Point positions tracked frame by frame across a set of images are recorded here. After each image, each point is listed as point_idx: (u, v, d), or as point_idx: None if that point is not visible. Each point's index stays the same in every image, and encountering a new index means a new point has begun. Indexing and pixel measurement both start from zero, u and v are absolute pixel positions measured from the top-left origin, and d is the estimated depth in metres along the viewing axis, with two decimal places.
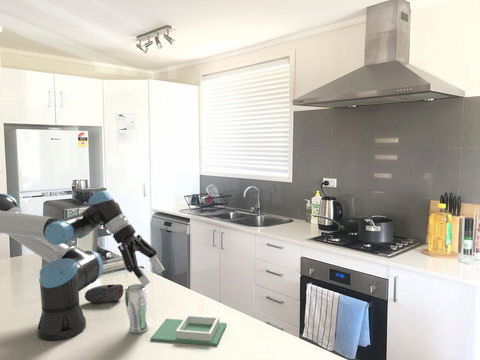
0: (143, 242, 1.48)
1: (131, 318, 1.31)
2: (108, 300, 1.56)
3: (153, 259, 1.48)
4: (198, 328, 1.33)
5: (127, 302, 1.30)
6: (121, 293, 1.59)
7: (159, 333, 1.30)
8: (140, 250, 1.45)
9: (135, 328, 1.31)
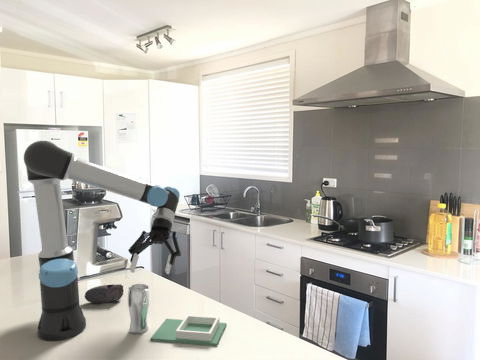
0: (143, 241, 1.53)
1: (132, 317, 1.31)
2: (108, 300, 1.56)
3: (137, 257, 1.48)
4: (198, 328, 1.33)
5: (130, 301, 1.30)
6: (121, 293, 1.59)
7: (159, 333, 1.30)
8: (147, 243, 1.50)
9: (135, 328, 1.31)
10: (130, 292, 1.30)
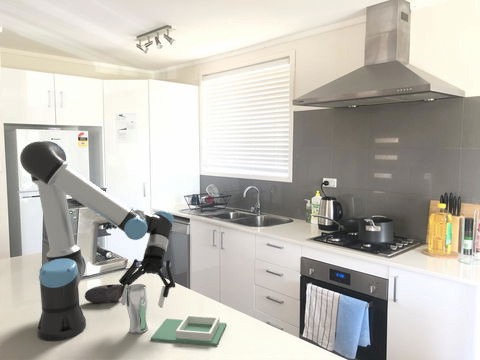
0: (135, 270, 1.44)
1: (131, 318, 1.31)
2: (108, 300, 1.56)
3: None
4: (198, 328, 1.33)
5: (128, 301, 1.30)
6: None
7: (159, 333, 1.30)
8: (139, 273, 1.41)
9: (135, 328, 1.32)
10: (127, 292, 1.30)
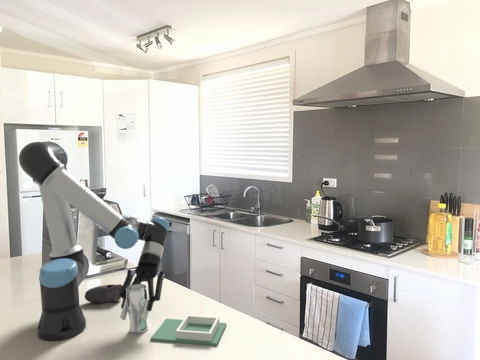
0: (131, 281, 1.41)
1: (131, 318, 1.31)
2: (108, 300, 1.56)
3: None
4: (198, 328, 1.33)
5: (128, 301, 1.30)
6: None
7: (159, 333, 1.30)
8: (136, 283, 1.38)
9: (135, 328, 1.32)
10: (127, 292, 1.30)
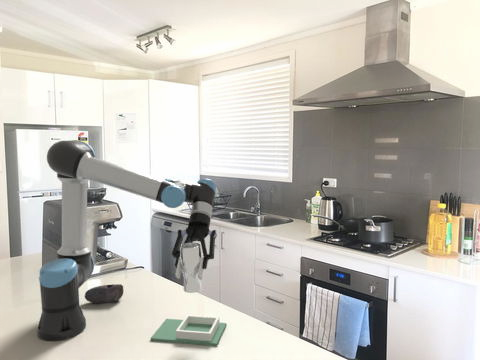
0: None
1: (186, 276, 1.28)
2: (108, 300, 1.56)
3: None
4: (198, 328, 1.33)
5: (183, 259, 1.27)
6: (121, 293, 1.59)
7: (159, 333, 1.30)
8: None
9: (190, 286, 1.28)
10: (182, 249, 1.27)
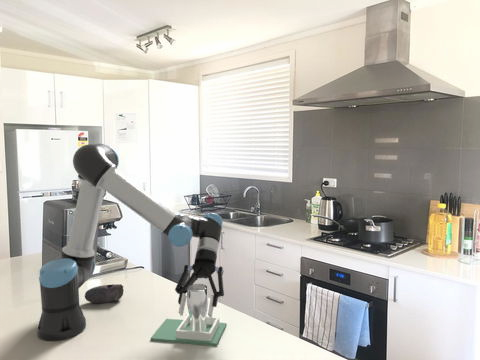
0: (187, 276, 1.38)
1: (192, 318, 1.29)
2: (108, 300, 1.56)
3: (185, 298, 1.32)
4: None
5: (190, 301, 1.28)
6: (121, 293, 1.59)
7: (159, 333, 1.30)
8: (193, 279, 1.35)
9: (196, 329, 1.29)
10: (189, 292, 1.28)
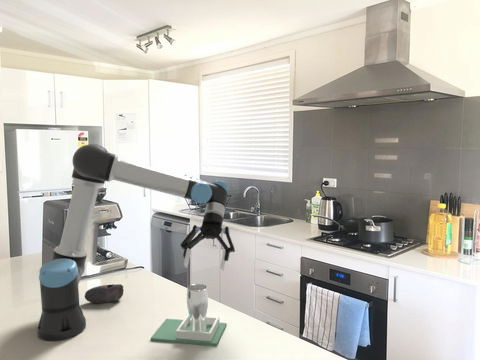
0: (194, 235, 1.50)
1: (192, 318, 1.29)
2: (108, 300, 1.56)
3: (189, 252, 1.45)
4: None
5: (190, 301, 1.28)
6: (121, 293, 1.59)
7: (159, 333, 1.30)
8: (199, 238, 1.47)
9: (196, 329, 1.29)
10: (189, 292, 1.28)
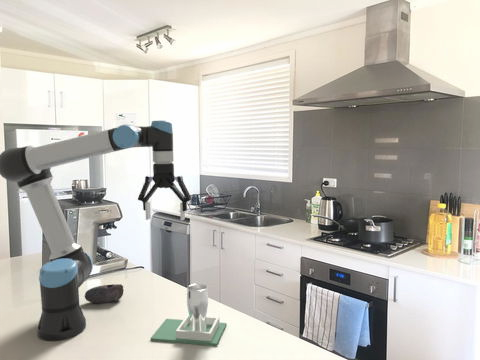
0: (149, 184, 1.48)
1: (192, 318, 1.29)
2: (108, 300, 1.56)
3: (148, 204, 1.49)
4: None
5: (190, 301, 1.28)
6: (121, 293, 1.59)
7: (159, 333, 1.30)
8: (154, 190, 1.47)
9: (196, 329, 1.29)
10: (189, 292, 1.28)
